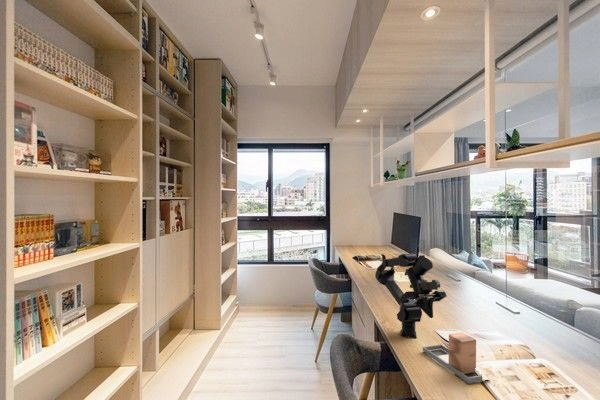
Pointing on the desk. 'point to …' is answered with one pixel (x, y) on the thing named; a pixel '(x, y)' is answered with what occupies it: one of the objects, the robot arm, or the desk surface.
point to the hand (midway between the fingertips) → (431, 317)
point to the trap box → (443, 360)
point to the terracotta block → (462, 352)
